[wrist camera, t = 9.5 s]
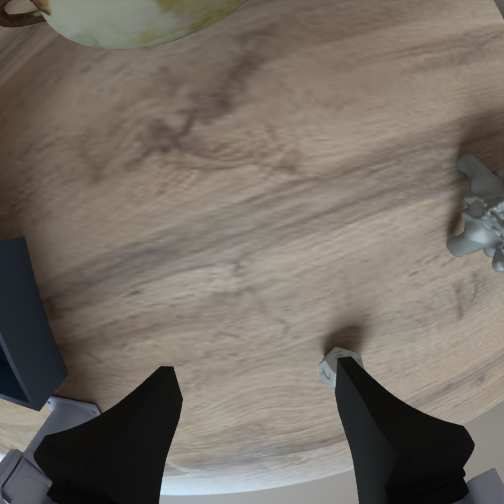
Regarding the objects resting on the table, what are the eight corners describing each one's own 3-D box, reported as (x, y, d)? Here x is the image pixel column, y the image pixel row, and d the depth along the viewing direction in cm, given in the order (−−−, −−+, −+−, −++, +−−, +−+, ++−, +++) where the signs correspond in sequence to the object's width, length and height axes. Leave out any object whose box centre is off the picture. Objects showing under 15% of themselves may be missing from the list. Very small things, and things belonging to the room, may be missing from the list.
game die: (336, 331, 23) (344, 353, 20) (366, 352, 23) (377, 374, 21) (306, 361, 24) (311, 384, 21) (338, 380, 24) (344, 403, 21)
